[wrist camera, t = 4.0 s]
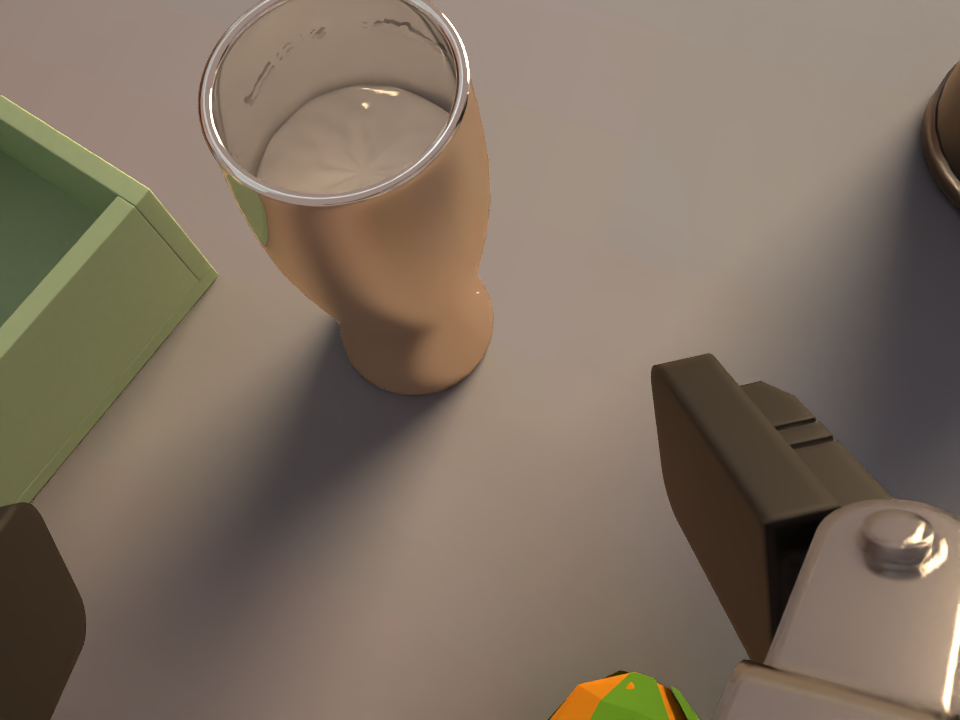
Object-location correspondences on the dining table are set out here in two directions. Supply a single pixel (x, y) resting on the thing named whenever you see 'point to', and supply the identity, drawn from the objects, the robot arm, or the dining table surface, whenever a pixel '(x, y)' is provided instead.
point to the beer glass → (362, 174)
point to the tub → (76, 293)
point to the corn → (624, 700)
